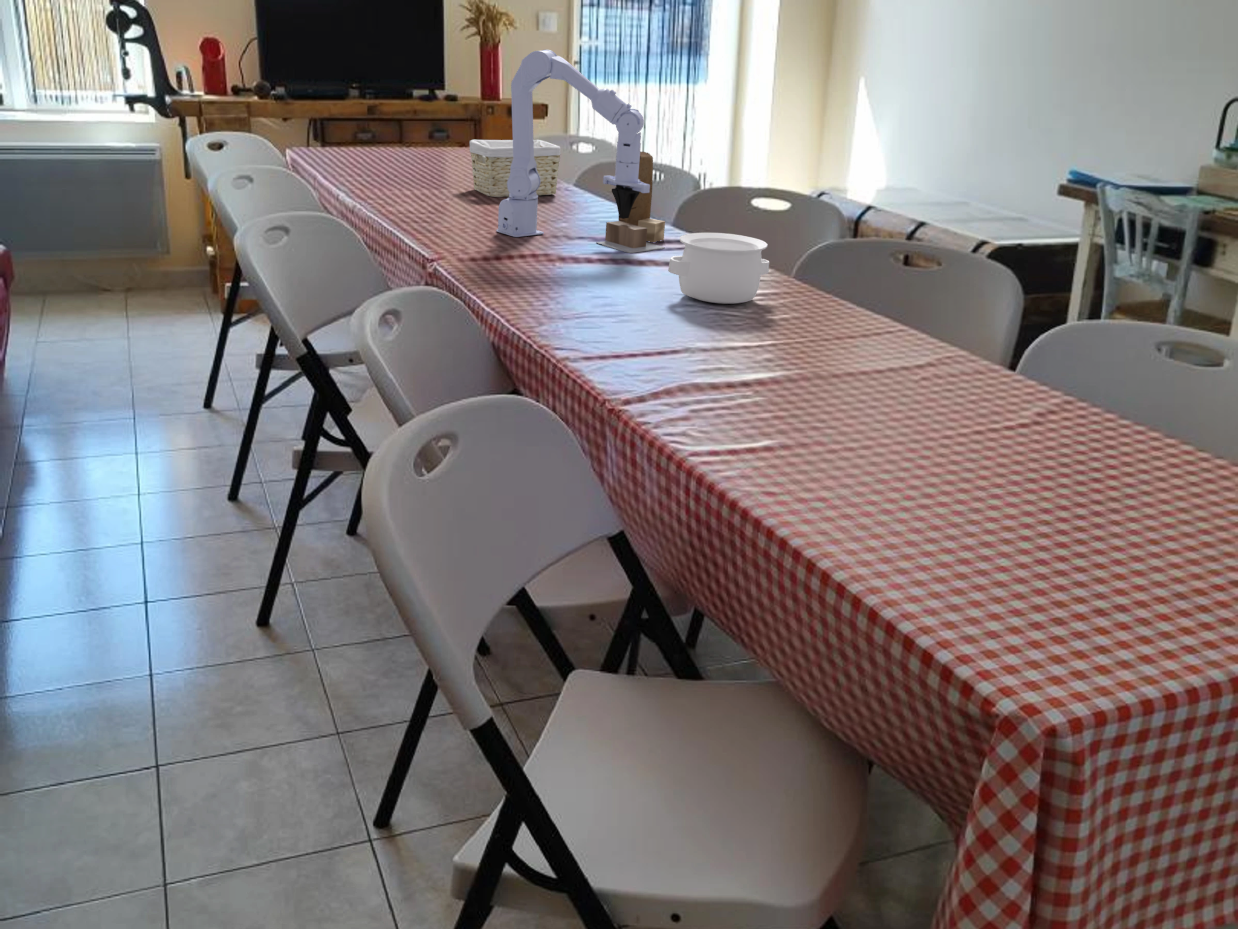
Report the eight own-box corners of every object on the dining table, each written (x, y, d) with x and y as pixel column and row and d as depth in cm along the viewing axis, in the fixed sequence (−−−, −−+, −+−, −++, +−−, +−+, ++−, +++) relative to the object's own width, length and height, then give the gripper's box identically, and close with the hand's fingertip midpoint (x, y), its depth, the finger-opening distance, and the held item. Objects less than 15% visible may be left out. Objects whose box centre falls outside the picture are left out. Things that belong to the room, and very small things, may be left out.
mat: (629, 253, 276) (629, 251, 276) (596, 243, 284) (596, 242, 284) (664, 248, 284) (664, 247, 284) (631, 239, 292) (631, 238, 292)
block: (650, 234, 300) (656, 155, 292) (622, 233, 298) (628, 154, 291) (640, 225, 310) (646, 149, 302) (613, 225, 308) (618, 148, 300)
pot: (682, 310, 230) (687, 250, 225) (654, 289, 245) (658, 232, 240) (782, 309, 236) (789, 250, 232) (748, 288, 251) (755, 232, 247)
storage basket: (486, 198, 333) (488, 146, 328) (466, 188, 346) (467, 138, 341) (561, 196, 344) (563, 146, 338) (538, 187, 357) (540, 138, 352)
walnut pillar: (605, 240, 287) (632, 248, 281) (606, 222, 285) (634, 229, 279) (618, 238, 290) (645, 246, 284) (619, 220, 288) (647, 228, 282)
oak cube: (653, 243, 290) (655, 223, 288) (636, 240, 292) (638, 220, 290) (663, 240, 294) (665, 221, 292) (646, 237, 296) (648, 218, 294)
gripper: (660, 165, 276) (655, 221, 282) (619, 156, 286) (615, 211, 291) (639, 166, 272) (635, 224, 277) (598, 157, 281) (595, 213, 287)
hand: (623, 217), depth 284 cm, fingers closed
